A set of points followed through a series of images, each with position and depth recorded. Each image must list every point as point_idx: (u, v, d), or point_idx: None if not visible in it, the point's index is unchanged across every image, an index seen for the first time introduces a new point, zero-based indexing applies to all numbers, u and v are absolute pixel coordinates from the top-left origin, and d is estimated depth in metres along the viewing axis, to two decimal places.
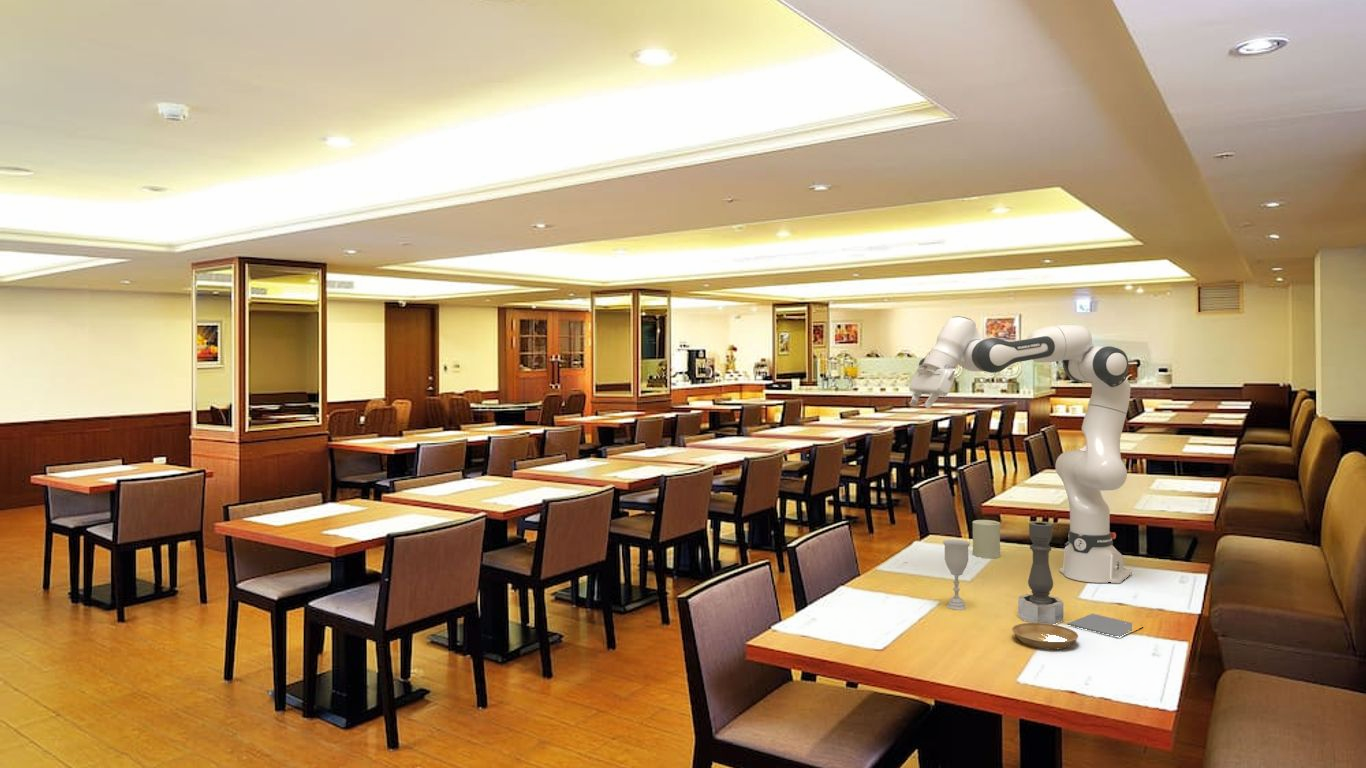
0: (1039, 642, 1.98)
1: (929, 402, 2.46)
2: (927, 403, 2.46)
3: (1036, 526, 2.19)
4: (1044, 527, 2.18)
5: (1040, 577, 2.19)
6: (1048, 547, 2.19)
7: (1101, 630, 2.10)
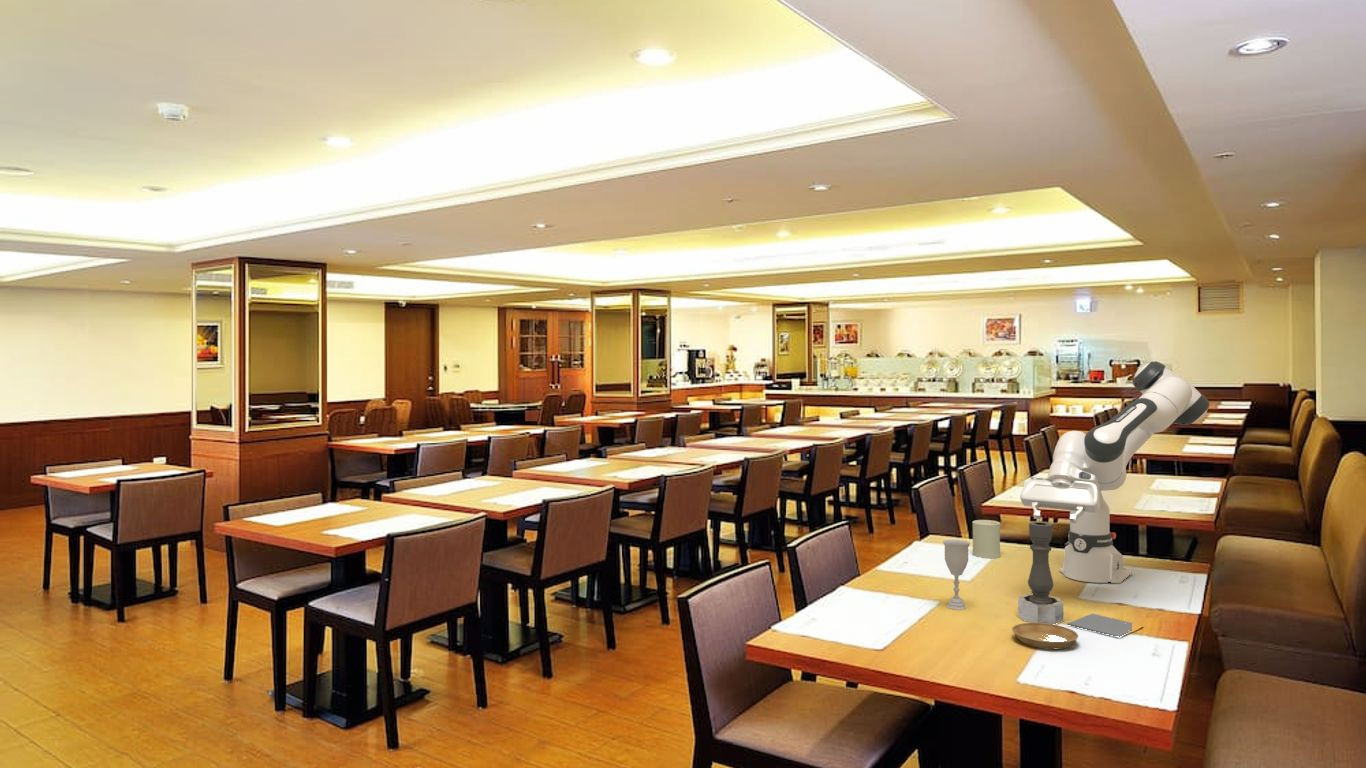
0: (1039, 642, 1.98)
1: None
2: None
3: (1036, 526, 2.19)
4: (1044, 527, 2.18)
5: (1040, 577, 2.19)
6: (1048, 547, 2.19)
7: (1101, 630, 2.10)
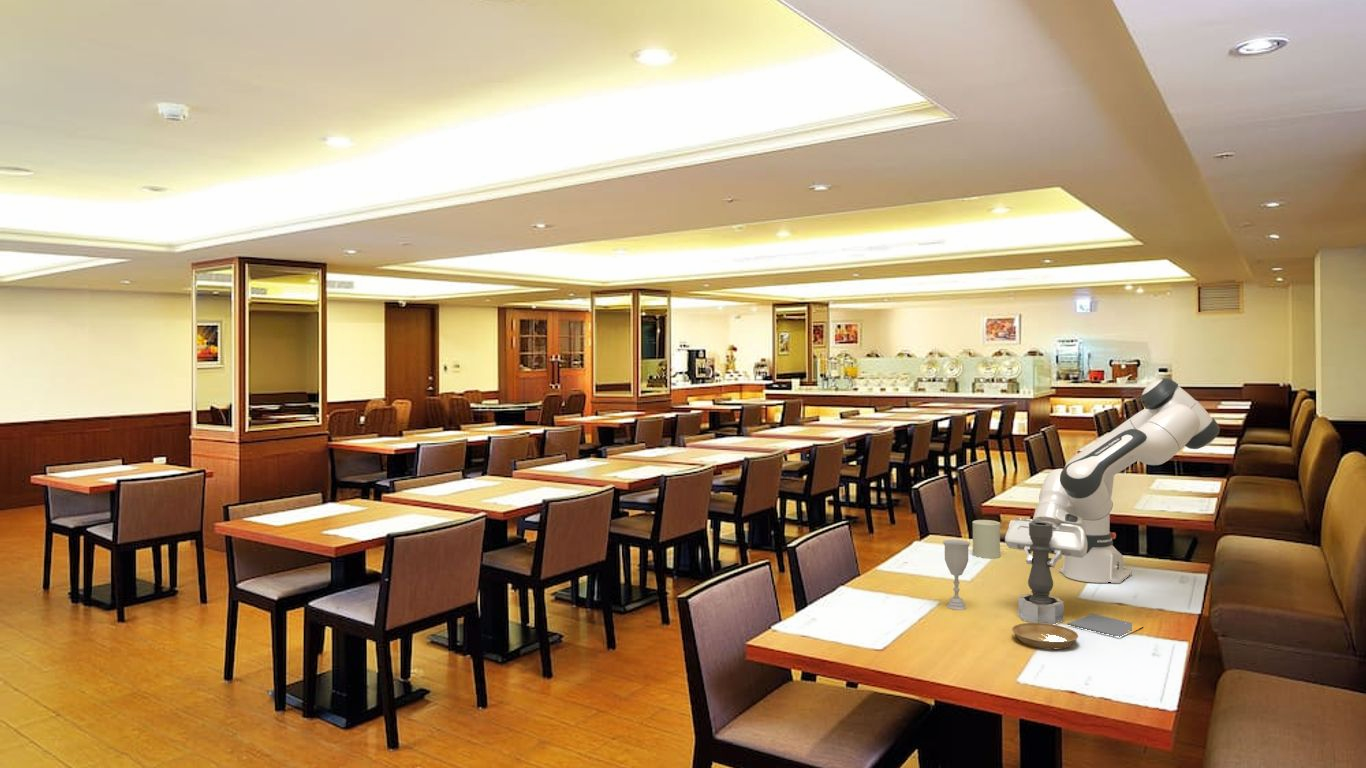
0: (1039, 642, 1.98)
1: None
2: None
3: (1036, 526, 2.19)
4: (1044, 527, 2.18)
5: (1040, 577, 2.19)
6: (1048, 547, 2.19)
7: (1101, 630, 2.10)
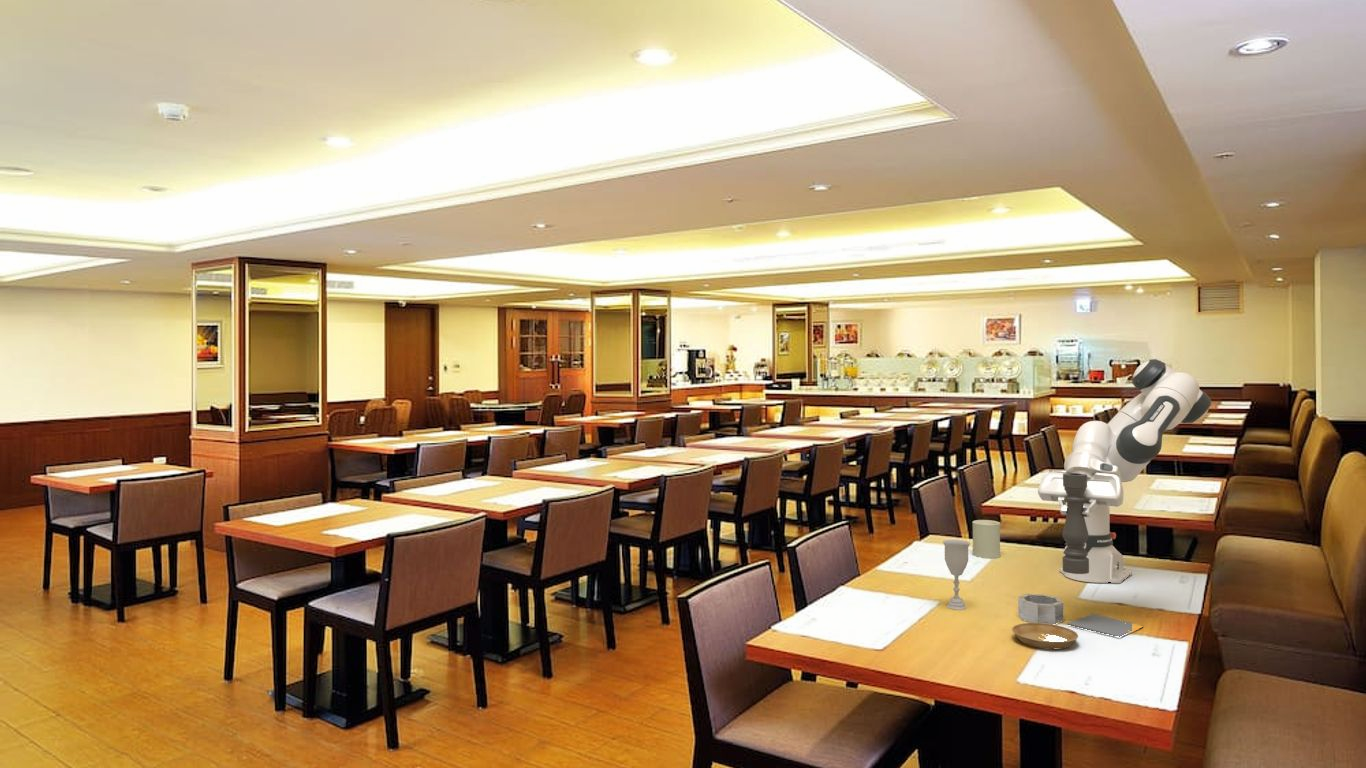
0: (1039, 642, 1.98)
1: None
2: None
3: (1070, 476, 2.15)
4: (1078, 477, 2.14)
5: (1075, 528, 2.15)
6: (1083, 497, 2.15)
7: (1101, 630, 2.10)
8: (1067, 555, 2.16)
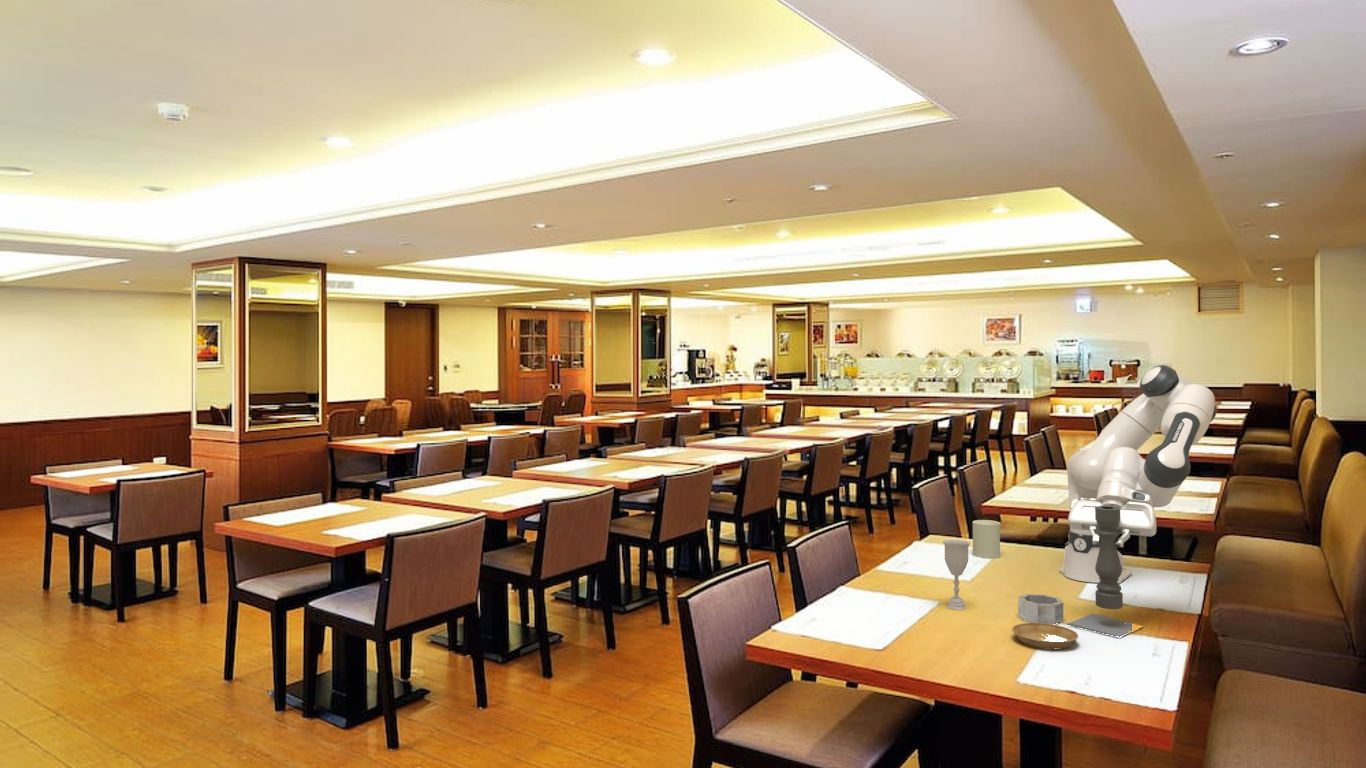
0: (1039, 642, 1.98)
1: None
2: None
3: (1103, 510, 2.11)
4: (1111, 511, 2.11)
5: (1108, 563, 2.11)
6: (1116, 532, 2.12)
7: (1101, 630, 2.10)
8: (1100, 590, 2.13)
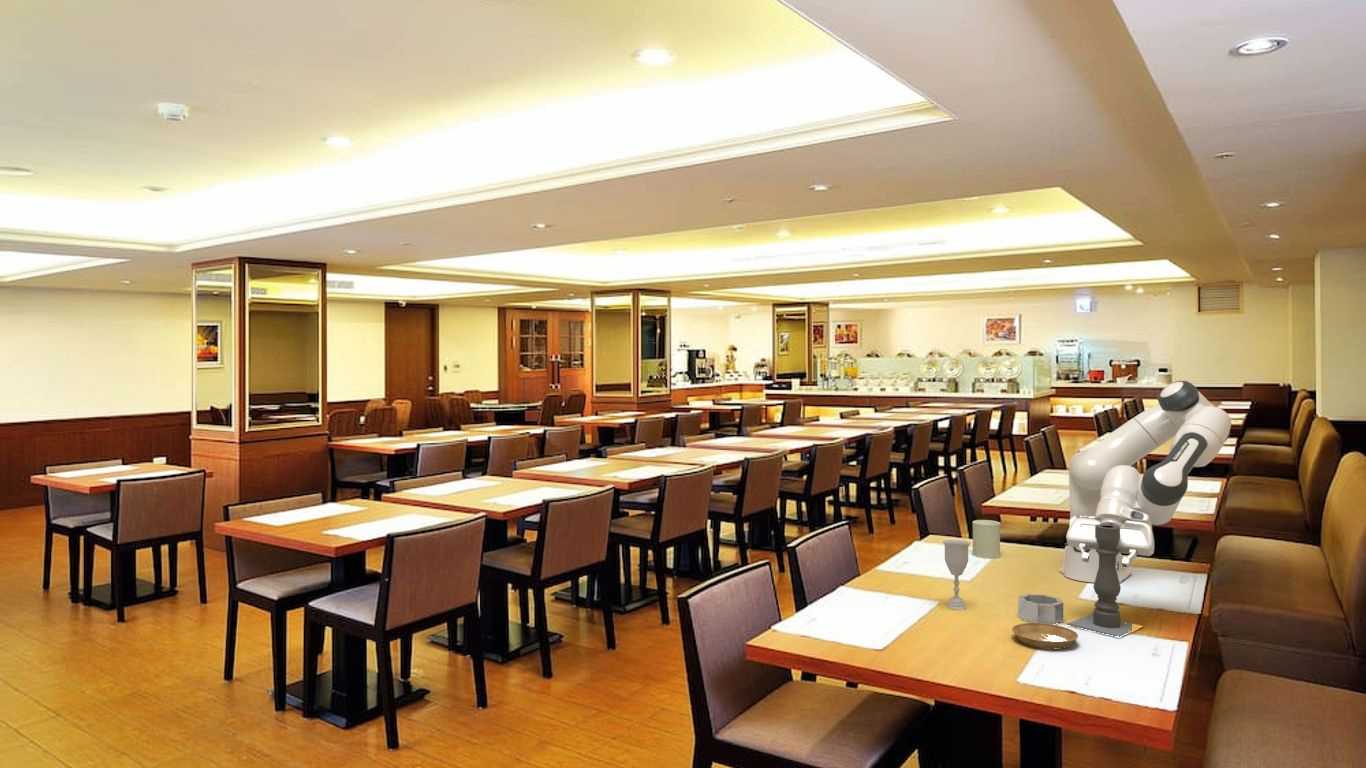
0: (1039, 642, 1.98)
1: None
2: None
3: (1103, 529, 2.12)
4: (1111, 530, 2.11)
5: (1106, 582, 2.12)
6: (1115, 551, 2.12)
7: (1101, 630, 2.10)
8: (1098, 608, 2.14)
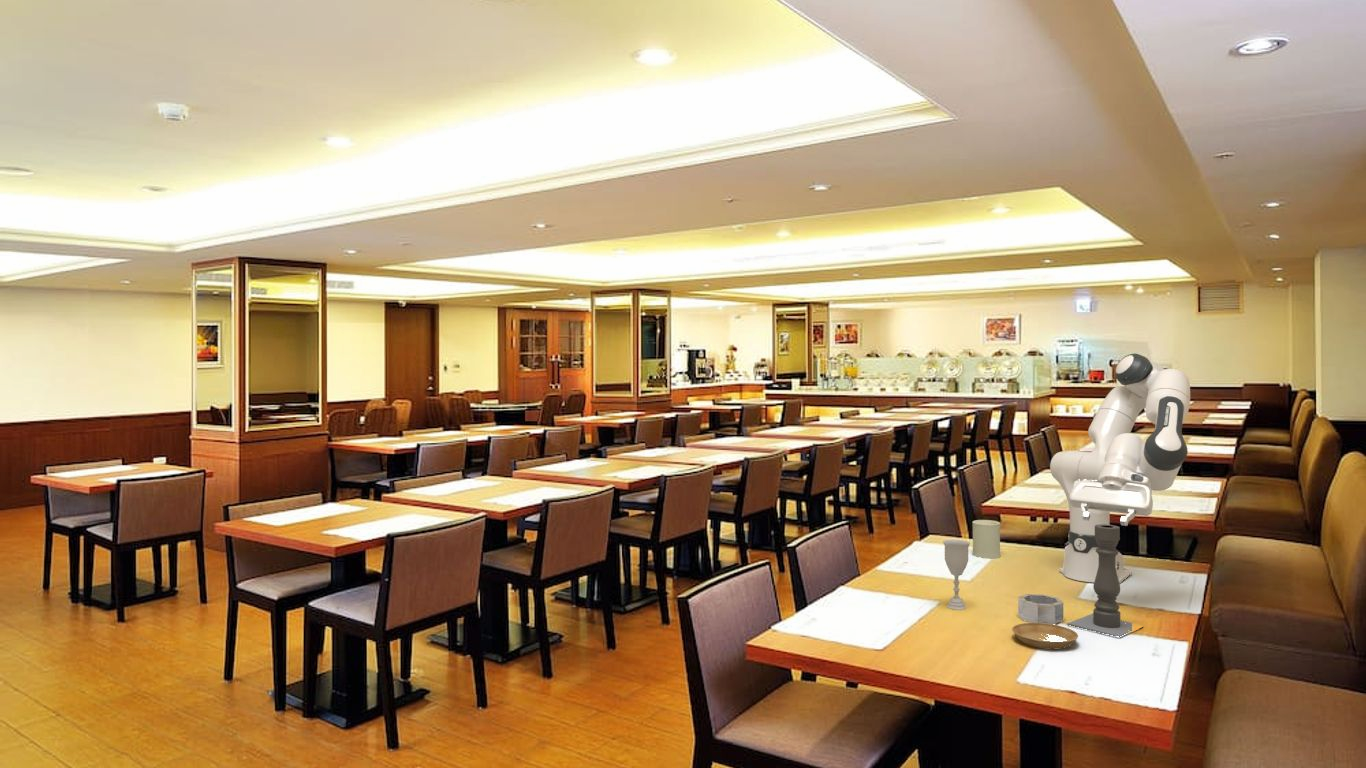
0: (1039, 642, 1.98)
1: None
2: None
3: (1102, 529, 2.12)
4: (1111, 530, 2.11)
5: (1106, 582, 2.12)
6: (1115, 551, 2.12)
7: (1101, 630, 2.10)
8: (1098, 608, 2.14)
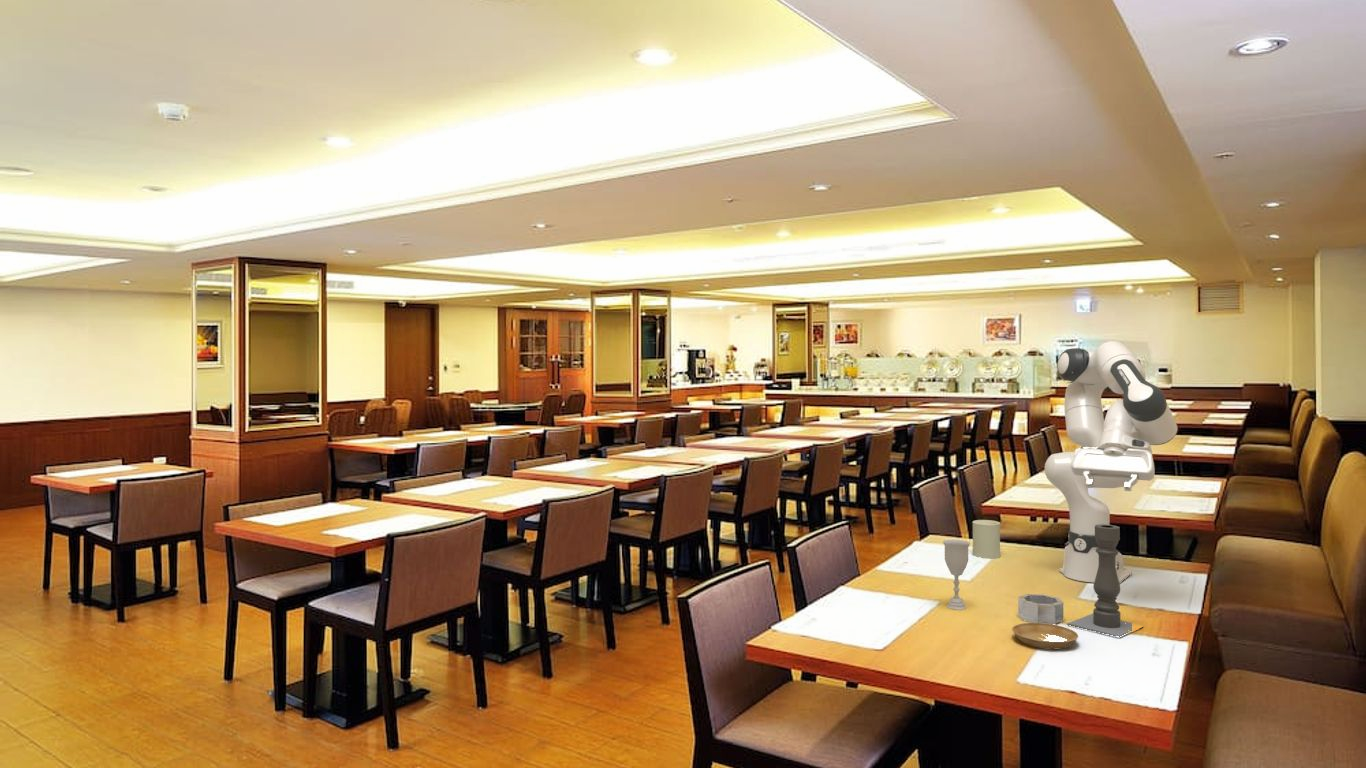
0: (1039, 642, 1.98)
1: None
2: None
3: (1102, 529, 2.12)
4: (1111, 530, 2.11)
5: (1106, 582, 2.12)
6: (1115, 551, 2.12)
7: (1101, 630, 2.10)
8: (1098, 608, 2.14)
